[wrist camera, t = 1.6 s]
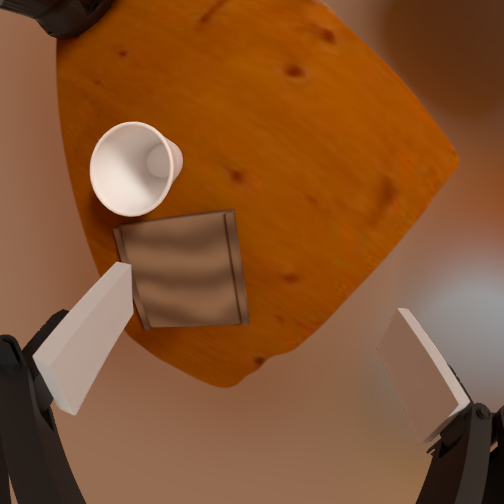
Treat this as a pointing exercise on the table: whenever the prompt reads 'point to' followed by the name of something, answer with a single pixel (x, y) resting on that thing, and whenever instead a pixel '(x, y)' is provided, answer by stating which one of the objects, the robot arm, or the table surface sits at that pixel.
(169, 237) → the board
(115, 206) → the cup
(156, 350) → the table surface
